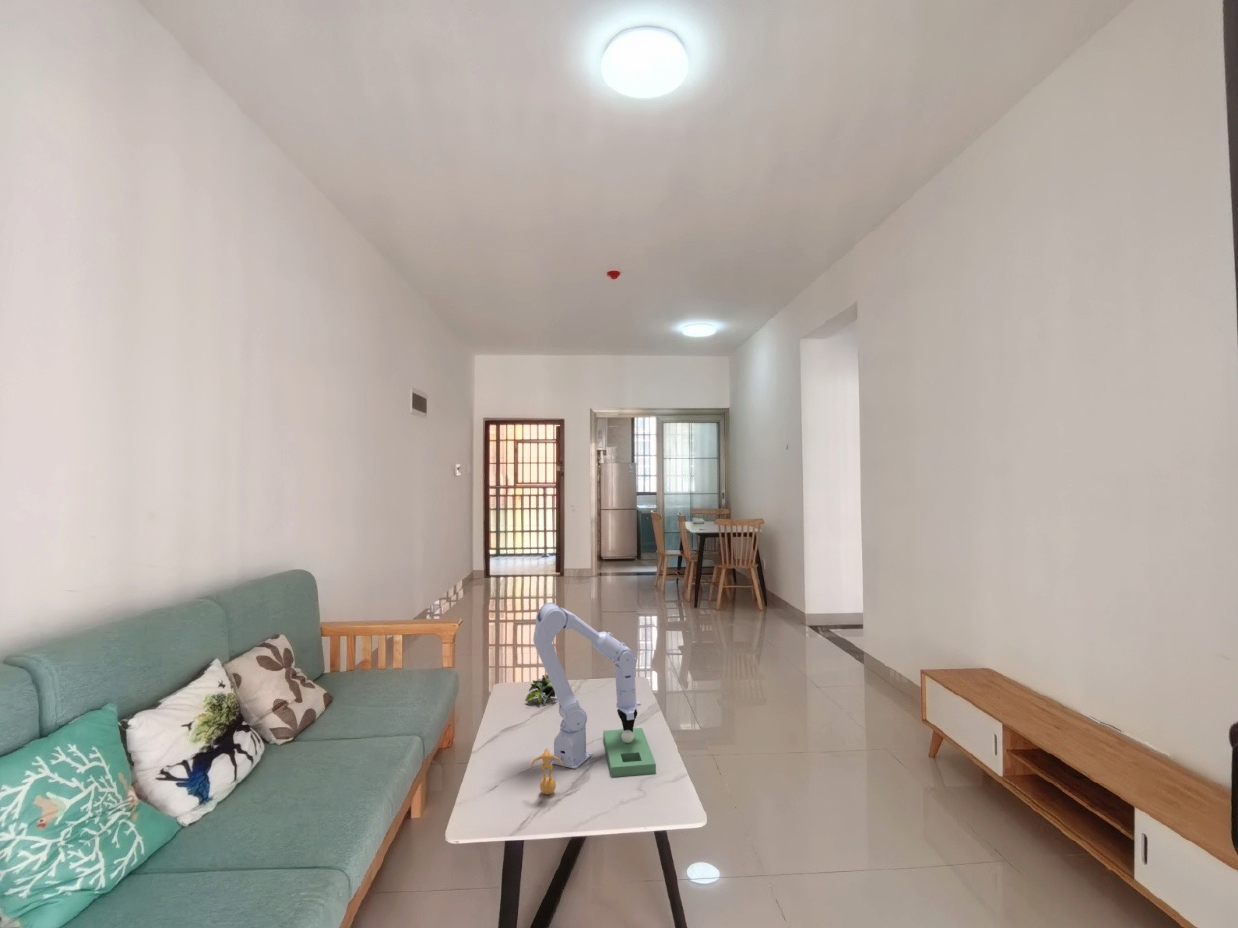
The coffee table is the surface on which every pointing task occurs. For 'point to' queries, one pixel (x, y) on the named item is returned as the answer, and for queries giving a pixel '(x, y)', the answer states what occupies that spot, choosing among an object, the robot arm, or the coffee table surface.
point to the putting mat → (628, 754)
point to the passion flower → (541, 689)
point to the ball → (627, 736)
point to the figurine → (547, 782)
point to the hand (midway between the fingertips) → (628, 734)
